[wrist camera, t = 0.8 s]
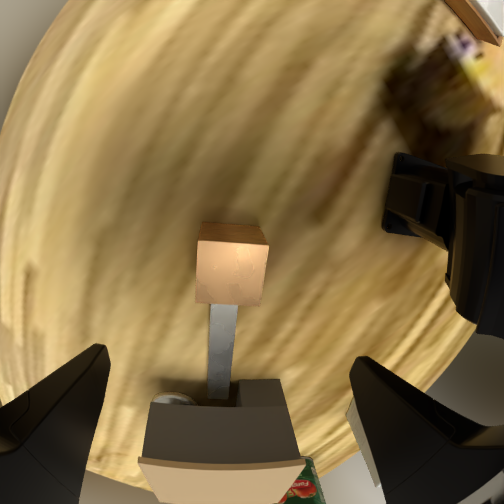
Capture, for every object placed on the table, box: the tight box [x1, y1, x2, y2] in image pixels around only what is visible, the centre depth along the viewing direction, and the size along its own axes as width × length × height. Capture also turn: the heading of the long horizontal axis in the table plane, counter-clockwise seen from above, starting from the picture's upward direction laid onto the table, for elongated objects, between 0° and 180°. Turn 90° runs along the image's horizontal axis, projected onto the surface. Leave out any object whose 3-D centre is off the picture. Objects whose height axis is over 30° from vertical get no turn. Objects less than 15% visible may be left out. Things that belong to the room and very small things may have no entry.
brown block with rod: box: [195, 222, 269, 399], centre depth 20 cm, size 4×17×4 cm, turn 173°
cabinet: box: [138, 379, 306, 504], centre depth 22 cm, size 12×11×10 cm
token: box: [152, 392, 198, 406], centre depth 25 cm, size 5×5×1 cm
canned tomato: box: [273, 457, 326, 504], centre depth 29 cm, size 8×8×11 cm
